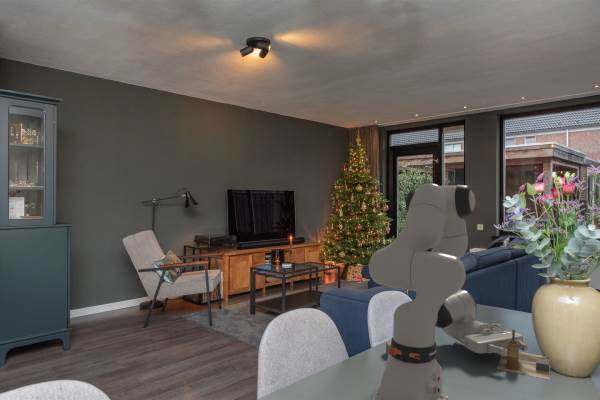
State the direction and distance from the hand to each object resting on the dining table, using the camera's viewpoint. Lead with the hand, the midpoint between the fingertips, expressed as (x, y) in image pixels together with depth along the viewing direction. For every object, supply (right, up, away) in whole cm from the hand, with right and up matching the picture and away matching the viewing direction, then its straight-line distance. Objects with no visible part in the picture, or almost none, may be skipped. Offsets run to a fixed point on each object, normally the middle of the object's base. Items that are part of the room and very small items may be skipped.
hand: (515, 349), depth 130 cm
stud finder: (+10, -6, +2) cm, 12 cm away
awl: (0, -6, +1) cm, 6 cm away
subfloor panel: (+6, -7, +5) cm, 11 cm away
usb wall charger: (-33, -6, +13) cm, 36 cm away
